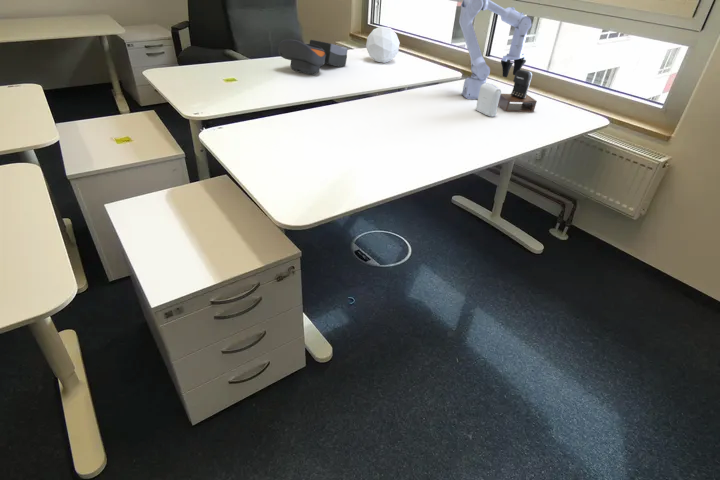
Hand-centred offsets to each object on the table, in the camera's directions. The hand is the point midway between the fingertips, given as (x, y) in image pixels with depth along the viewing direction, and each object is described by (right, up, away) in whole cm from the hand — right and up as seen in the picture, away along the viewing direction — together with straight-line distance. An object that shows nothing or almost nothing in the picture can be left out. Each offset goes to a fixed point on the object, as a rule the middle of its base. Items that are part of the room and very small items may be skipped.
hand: (509, 76), depth 204 cm
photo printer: (-16, -22, -16) cm, 32 cm away
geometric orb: (-58, +29, +53) cm, 84 cm away
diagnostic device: (-95, +15, +29) cm, 100 cm away
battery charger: (0, -13, -9) cm, 16 cm away
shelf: (0, -17, -7) cm, 19 cm away
